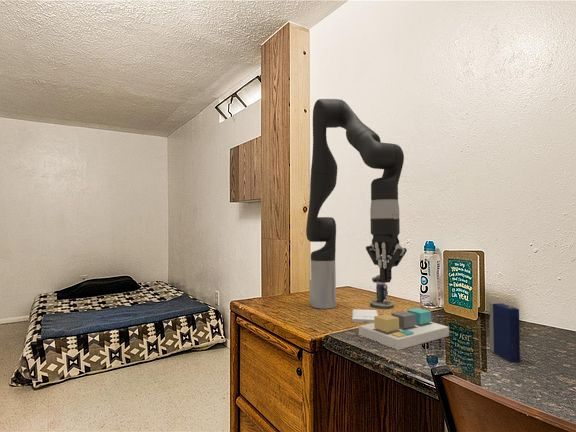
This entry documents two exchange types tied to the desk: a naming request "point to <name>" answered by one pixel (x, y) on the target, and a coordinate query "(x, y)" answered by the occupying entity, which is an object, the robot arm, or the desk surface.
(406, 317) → the key charcoal
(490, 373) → the desk surface
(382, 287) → the figurine
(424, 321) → the key teal
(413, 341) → the keypad frame
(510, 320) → the navy blue upright slab
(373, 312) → the external hard drive
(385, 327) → the key ochre
